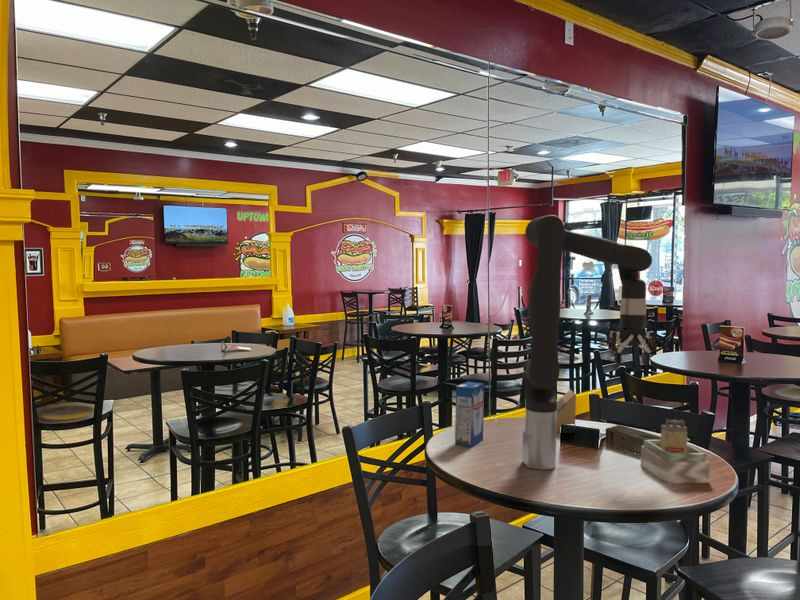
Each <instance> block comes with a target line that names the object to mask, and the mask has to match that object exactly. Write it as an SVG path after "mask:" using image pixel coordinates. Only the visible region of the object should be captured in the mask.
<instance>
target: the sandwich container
mask: <svg viewBox="0 0 800 600" xmlns="http://www.w3.org/2000/svg"><path fill="white" fill-rule="evenodd" d="M576 400H577V394H575V393H574V391H573V390H572V389H569V390H568V391H567V392H566V393H564V395H563V396H561V397H560V398H559V399H558V400H557V426H556V434H557V433H560V427H561V425H562V424H574V425H575V426H576V406H577V404H576V403H577V402H576Z"/></svg>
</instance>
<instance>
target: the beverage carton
mask: <svg viewBox="0 0 800 600" xmlns="http://www.w3.org/2000/svg"><path fill="white" fill-rule="evenodd" d="M644 440H661V435H660V436H659V435H657V434H653V433H649V432H645V431H642V430H639V429H635V428H631V427H630V426H629V427H628V426H624V425H620V424H618V425H615V426H611V427H607V428H605V446H608V447H611V448H614V447H615V449H617V448H618V450H621V451H624V452H627V451H628V452H627V453H630V452H631V454H634V453H636V454H635V455H637V454H639V455H638V456H640V455H641V446H644Z"/></svg>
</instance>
